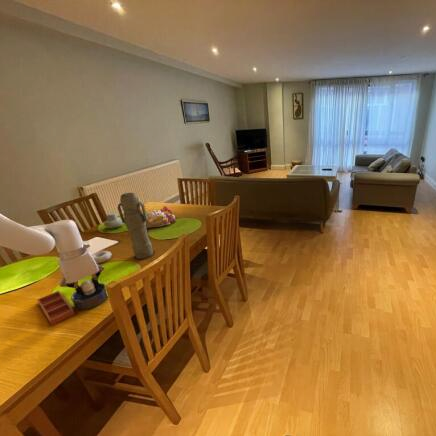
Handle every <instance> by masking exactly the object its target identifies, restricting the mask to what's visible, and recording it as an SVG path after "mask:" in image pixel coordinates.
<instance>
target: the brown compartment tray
mask: <svg viewBox="0 0 436 436" xmlns="http://www.w3.org/2000/svg"><path fill="white" fill-rule="evenodd" d="M36 301H37V303H38V304H39V306H40V308H41V309H42V311H43V313H44V315H45V316H46V318H47V320H48V322H49V323H50V325H51V326H54V325H57V324H58V323H60V322H62V321H64V320H66V319H68V318H70V317H73V316H74V315H76V313H75V310H74V308H73V307H72V306H71V304H70V303H69V302H68V300H67V299H66V298H65V296H64V295H63V294H62V292H61V291H60V290H57V291H55V292H52V293H50V294H47V295H45V296H42V297H40V298H38V299H36Z"/></svg>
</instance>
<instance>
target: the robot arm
mask: <svg viewBox="0 0 436 436" xmlns="http://www.w3.org/2000/svg"><path fill="white" fill-rule="evenodd" d="M83 241H84V240H83V238H82V236H81V233H80V231H79V228H78V226H77V224H76V221H74V220H73V219H60V220H57V221H53V222H52V223H46V224H40V225H39V224H38V225H32V226H26V225H23V224H21V223H19V222H16V221H14V220H12V219H10V218H8V217H6V216H5V215H3V214H2V213H0V247H3V248H6V249H9V250H13V251H16V252H19V253H23V254H26V255H30V256H42V255H46V254H48V253H50V252H51V251H52V250H54V248H55V249H56V251H57V253H58V255H59V257H58V259H57V262H58V267H59V269H60V272H61V276H62V278H61V279H60V282H59V284H58V286H59V287H60V288H72V289H74V290H75V292H77V294H80V295H81V296H83V295H84V294H83V292H82V289H81V287H80V284H79V281H81V280H83V279H86V278H88V277H91V279H90V280H91V281H93V283H94V285H95V287H96V289H99V287H98V285H99V283H100V282H99V277H100V276H101V274H102V273H103V272H104V270H105V267H104V266H103V265H100V264H99V263H98V264H96V262H95V260H94V258H93V256H92V255H91V253H90V252H89V250H87V248H88V247H90V245H89V244H84V243H83Z"/></svg>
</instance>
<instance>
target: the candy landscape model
mask: <svg viewBox="0 0 436 436" xmlns="http://www.w3.org/2000/svg"><path fill="white" fill-rule="evenodd" d="M165 212H167V213H165ZM168 213H169V214H168ZM146 215H147V218H148V219H147V220H146V221H145V222H146V229H150V228H158V227H159V228H160V227H164V226H167V225H171V223H170V222H172V224H174V222H176V221H177V219H176V216H175V215H174V212H173V211H172V209H171V208H170V207H169V206H167V205H164V206H163V207H162V208H161V209H158V210H155V209H152V210H149V211H148V212H146Z"/></svg>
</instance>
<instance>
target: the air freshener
mask: <svg viewBox="0 0 436 436" xmlns="http://www.w3.org/2000/svg"><path fill="white" fill-rule="evenodd" d="M105 217H106V220H105V221H104V223H103V225H104V227H105V228H107V229H110V230H113V229H117V228H120V227H122V226H123V224H124V223H122V220H121V217H118V214H117V212H108V213H106V214H105Z"/></svg>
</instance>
